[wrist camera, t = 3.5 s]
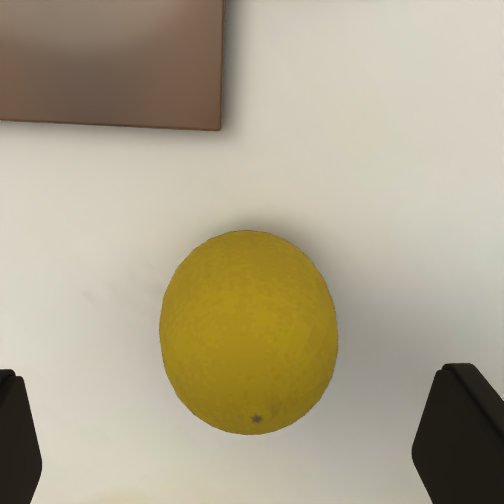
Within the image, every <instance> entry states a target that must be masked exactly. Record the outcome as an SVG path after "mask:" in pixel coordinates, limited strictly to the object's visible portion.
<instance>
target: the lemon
mask: <svg viewBox="0 0 504 504" xmlns="http://www.w3.org/2000/svg"><path fill="white" fill-rule="evenodd" d="M159 335H160V343H161V350H162V357H163V362H164V367H165V370H166V374H167V376H168V378H169V380H170V382H171V384H172V386H173V388H174V390H175V392H176V394H177V396H178V398H179V399H180V400H181V401H182V402H183V403H184V404H185V406H186V407H187V408H188V409H189V410H190V411H191V412H192V413H193V414H194V415H195V416H197V417H198V418H200V419H201V420H203V421H205V422H206V423H208V424H209V425H211V426H213V427H215V428H218V429H220V430H223V431H226V432H230V433H236V434H243V435H260V434H265V433H269V432H274V431H277V430H279V429H281V428H284V427H286V426H289V425H291V424H293V423H294V422H296V421H297V420H298V419H300V418H301V417H303V416H304V415H305V414H306V413H307V412H309V410H310V409H311V408H312V407H313V406H314V405H315V404H316V403H317V402H318V401H319V400H320V399H321V397H322V395H323V393H324V391H325V389H326V388H327V386H328V384H329V382H330V380H331V378H332V374H333V370H334V366H335V362H336V357H337V351H338V333H337V320H336V312H335V307H334V303H333V300H332V298H331V295H330V293H329V290H328V288H327V285H326V283H325V281H324V279H323V277H322V275H321V274H320V272H319V271H318V269H317V268H316V267H315V266H314V265H313V263H312V262H311V261H310V260H309V258H308V257H307V256H306V255H305V254H304V253H303V252H302V251H300V250H299V249H297V248H296V247H295V246H293V245H292V244H291V243H289V242H288V241H286V240H285V239H282V238H280V237H277V236H274V235H272V234H269V233H266V232H258V231H250V230H244V231H234V232H228V233H225V234H222V235H219V236H217V237H214V238H211V239H209V240H208V241H206V242H205V243H203V244H202V245H200V246H199V247H197V248H196V249H194V250H193V251H192V252H191V253H190V254H189V255H188V256H187V258H186V259H185V260H184V261H183V262H182V263H181V264H180V265H179V266H178V268H177V270H176V271H175V273H174V275H173V277H172V279H171V281H170V283H169V285H168V287H167V290H166V292H165V295H164V298H163V304H162V310H161V317H160V324H159Z"/></svg>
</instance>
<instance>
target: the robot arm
mask: <svg viewBox="0 0 504 504" xmlns="http://www.w3.org/2000/svg"><path fill="white" fill-rule="evenodd" d="M412 459H413V463H414V465H415V467H416V469H417V471H418V474H419V476H420V478H421V480H422V482H423V484H424V486H425V488H426V490H427V492H428V494H429V496H430V499H431V501H432V503H433V504H504V401H503V400H502V399H501V397H500V396H499V395H498V394H497V393H496V391H495V390H494V389H493V388H492V386H491V385H490V384H489V383H488V381H487V380H486V379H485V378H484V376H483V375H482V374H481V373H480V372H479V370H478V369H477V368H476V367H475V366H474V365H473V364H470V363H449V364H445V365H444V366H443V367H442V369H441V370H438V371H437V372H436V374H435V377H434V380H433V383H432V386H431V389H430V393H429V396H428V399H427V402H426V405H425V408H424V411H423V414H422V417H421V421H420V424H419V427H418V430H417V433H416V436H415V439H414V442H413V445H412ZM41 471H42V458H41V454H40V449H39V445H38V441H37V436H36V432H35V427H34V423H33V419H32V414H31V410H30V405H29V401H28V396H27V392H26V388H25V383H24V380H23V378H22V377H21V376H16V375H15V372H14V371H13V370H11V369H0V504H30V503H31V500H32V497H33V495H34V492H35V490H36V487H37V485H38V482H39V479H40V476H41Z"/></svg>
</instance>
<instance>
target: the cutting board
mask: <svg viewBox="0 0 504 504" xmlns="http://www.w3.org/2000/svg"><path fill="white" fill-rule="evenodd" d="M224 29H225V0H0V121H15V122H35V123H56V124H76V125H97V126H118V127H138V128H159V129H179V130H200V131H221V129H222V100H223V65H224Z"/></svg>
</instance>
